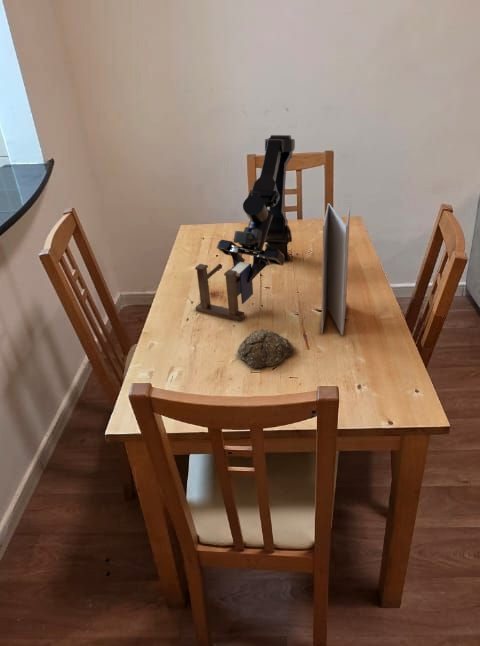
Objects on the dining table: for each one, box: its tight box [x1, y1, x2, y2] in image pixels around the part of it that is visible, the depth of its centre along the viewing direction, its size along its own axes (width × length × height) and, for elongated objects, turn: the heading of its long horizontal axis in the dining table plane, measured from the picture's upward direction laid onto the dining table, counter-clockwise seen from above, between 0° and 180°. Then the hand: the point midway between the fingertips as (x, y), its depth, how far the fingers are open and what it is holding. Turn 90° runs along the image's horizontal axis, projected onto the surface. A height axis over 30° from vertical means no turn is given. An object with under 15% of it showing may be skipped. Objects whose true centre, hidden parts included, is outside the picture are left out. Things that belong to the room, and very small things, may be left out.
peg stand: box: [194, 263, 246, 322], centre depth 154 cm, size 11×14×14 cm
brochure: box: [320, 202, 351, 336], centre depth 141 cm, size 14×6×30 cm, turn 168°
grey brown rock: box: [237, 328, 293, 369], centre depth 136 cm, size 13×12×5 cm
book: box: [229, 261, 254, 305], centre depth 152 cm, size 6×4×10 cm, turn 152°
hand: (241, 281), depth 153 cm, fingers closed on book, 4 cm apart
